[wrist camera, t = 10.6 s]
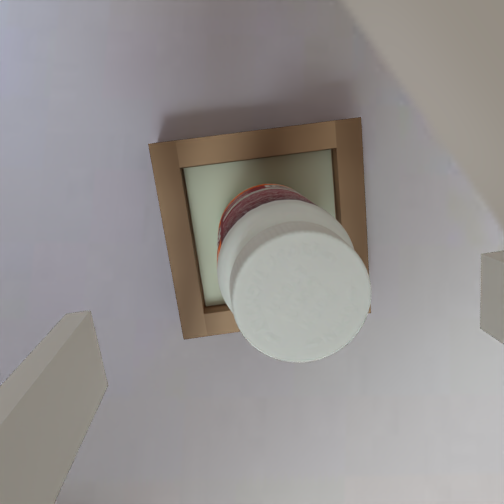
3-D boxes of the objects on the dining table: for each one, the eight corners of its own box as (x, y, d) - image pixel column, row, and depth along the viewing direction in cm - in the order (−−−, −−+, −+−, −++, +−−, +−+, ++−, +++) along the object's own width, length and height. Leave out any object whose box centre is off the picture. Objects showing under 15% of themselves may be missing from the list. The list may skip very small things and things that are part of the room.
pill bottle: (198, 221, 25) (179, 283, 14) (281, 161, 25) (327, 179, 14) (255, 297, 27) (278, 405, 16) (335, 242, 26) (415, 316, 15)
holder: (188, 318, 29) (183, 339, 26) (156, 143, 26) (148, 143, 23) (355, 295, 30) (370, 313, 27) (345, 119, 27) (361, 117, 23)
